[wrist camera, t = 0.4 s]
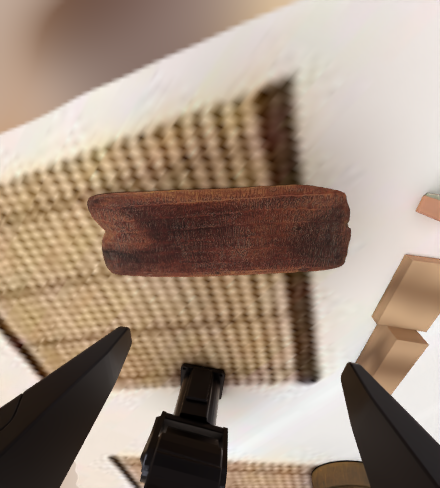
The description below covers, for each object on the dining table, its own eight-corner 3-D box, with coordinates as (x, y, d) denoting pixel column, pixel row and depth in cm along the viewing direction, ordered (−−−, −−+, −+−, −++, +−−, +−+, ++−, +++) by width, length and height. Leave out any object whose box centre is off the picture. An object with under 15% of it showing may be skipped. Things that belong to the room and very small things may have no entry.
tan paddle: (383, 373, 28) (398, 398, 25) (343, 366, 28) (353, 390, 25) (460, 261, 20) (492, 279, 17) (404, 254, 21) (427, 271, 18)
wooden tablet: (368, 182, 17) (350, 290, 21) (356, 180, 19) (341, 279, 23) (77, 193, 21) (100, 282, 24) (93, 191, 23) (112, 273, 27)
